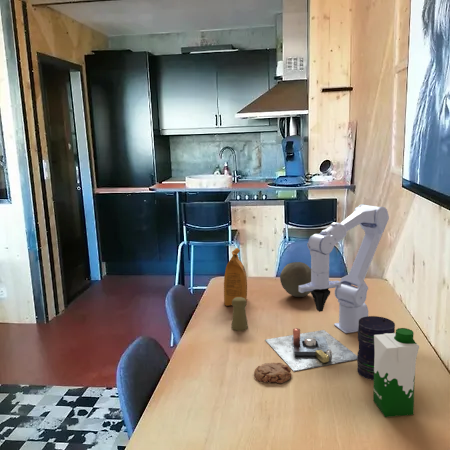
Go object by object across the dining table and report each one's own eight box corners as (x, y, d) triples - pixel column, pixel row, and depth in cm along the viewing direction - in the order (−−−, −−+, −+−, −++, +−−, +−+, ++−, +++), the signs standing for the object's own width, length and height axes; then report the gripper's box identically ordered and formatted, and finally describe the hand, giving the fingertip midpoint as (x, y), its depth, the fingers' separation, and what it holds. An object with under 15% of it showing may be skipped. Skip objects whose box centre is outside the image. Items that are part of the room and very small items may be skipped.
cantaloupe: (290, 289, 201) (290, 256, 198) (320, 295, 192) (320, 261, 190) (274, 299, 189) (274, 264, 187) (305, 305, 181) (305, 269, 178)
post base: (323, 330, 157) (324, 321, 156) (360, 359, 136) (360, 348, 136) (265, 340, 151) (264, 331, 150) (293, 371, 130) (293, 361, 130)
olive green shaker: (246, 331, 158) (246, 301, 156) (229, 330, 160) (229, 300, 157) (249, 324, 164) (248, 295, 162) (232, 323, 165) (232, 294, 163)
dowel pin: (330, 358, 137) (330, 349, 136) (332, 360, 135) (332, 351, 135) (325, 358, 136) (325, 350, 136) (328, 361, 135) (328, 352, 134)
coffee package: (250, 297, 192) (249, 246, 188) (245, 307, 180) (244, 254, 176) (227, 296, 194) (225, 246, 190) (221, 306, 182) (219, 253, 178)
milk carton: (419, 417, 108) (423, 338, 104) (382, 419, 107) (385, 341, 103) (401, 396, 116) (405, 323, 113) (367, 399, 116) (370, 325, 112)
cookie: (248, 372, 131) (248, 363, 130) (280, 364, 135) (280, 355, 134) (264, 389, 122) (264, 379, 121) (298, 380, 126) (298, 370, 125)
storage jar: (374, 384, 122) (376, 333, 119) (349, 369, 131) (350, 320, 128) (401, 375, 127) (403, 325, 124) (374, 360, 135) (376, 313, 132)
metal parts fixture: (291, 339, 149) (291, 322, 148) (325, 340, 148) (325, 322, 147) (295, 362, 134) (295, 343, 133) (332, 362, 133) (332, 343, 132)
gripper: (333, 265, 153) (332, 303, 155) (294, 270, 148) (294, 309, 151) (344, 270, 146) (343, 310, 148) (304, 275, 142) (303, 316, 144)
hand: (319, 310), depth 149 cm, fingers closed
